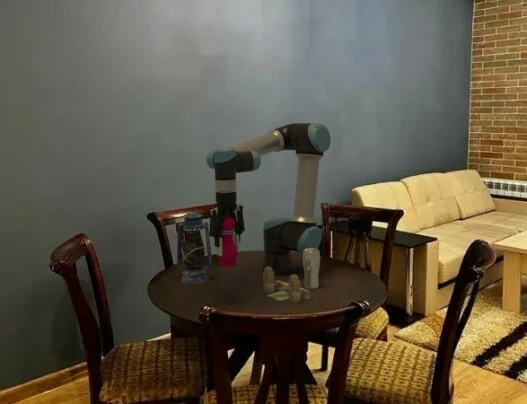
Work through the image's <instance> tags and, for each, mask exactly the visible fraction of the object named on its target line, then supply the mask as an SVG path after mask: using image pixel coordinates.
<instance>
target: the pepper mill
mask: <svg viewBox="0 0 527 404" xmlns="http://www.w3.org/2000/svg"><path fill="white" fill-rule="evenodd" d="M234 226H235V220H234V218H232V217H229V216H228V217H226V219H225V220H224V221H223V227H222V231H221V238H222V255H223V256H219V255H217V256H218V258H219V259H220V260H219V267H221V268H225V269H227V268H228V269H230V268H235V267H237V259H236V258H237V257H238V254H239V252H237V248H236V246H235V244H234V242H233V234H235V232H234V229H233V227H234Z"/></svg>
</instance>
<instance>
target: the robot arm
mask: <svg viewBox="0 0 527 404" xmlns="http://www.w3.org/2000/svg"><path fill="white" fill-rule="evenodd" d="M330 146H331V133H330V131H329V130H328V128H327V126H325V124H322V123H317V122H305V123H304V122H298V123H297V122H294V123H293V122H292V123H289V124H286V125H282V126H279V127H277V128H274V129H271V130H269V131H268V132H267V133H266V134H264V135H262V136H261V135H260V136H258V137H256V138H253V139H252V138H251V139H250V140H247V141H244V142H241V143H238V144H235V145H233V146H229V147H218V148H217V147H216V149H214V150H210V151H209V152H208V154H207V155H206V164H207V166H208V167H209V168H210V169H212V170H214V186H215V188H214V190H215V191H216V192H215V203H216V206H215V207H214V208H213V209H212V208H210V209H208V210H209V211H208V212H209V237H211V238H213V239H214V241H213V243H214V245H213V246H214V247H215V253H216V254H215V255H216V256H218V255H219V256H223V255H222V237H221V236H222V234H221V231H222V227H223V221H224V220H225V219H226V217H228V216H229V217H232V218H234V220H235V226H234V227H233V229H234V233H233V242H234V244H235V246H236V248H237V252H238V253H240V243H241V235H242V234H243V232H245V231H246V228H245V221H244V214H243V211H244V205H241V204H237V201H238V200H237V199H238V198H237V197H238V196H237V191H236V190H237V174H241V173H249V172H251V173H252V172H255V171H257V170H258V169H259V168H260V167H261V163H262V161H261V156H265V155H267V154H270V153H273V152H275V153H280V152H282V151H295V156H296V158H298V161H297V162H298V164H297V174H296V185H295V192H294V193H295V196H294V207H293V215H292V217H290V218H289V217H278V218H272V219H267V220H265V221H264V223H263V229H262V231H263V255H262V261H261V264H260V272H261V273H262V274H263V272H265V271H264V270H265V268H266V267H268V266H269V267H271V268H272V269H273V272H274V276H283V275H289V274H292V273H294V272H295V270H296V269H295V263H294V260H293V257H292V254H291V253H292V251H293V252H296V253H299V254H303V249H306V248H317V249H319V246H320V244H321V242H322V232H321V229H320V227H318V226H317V225H318V222H317V220H316V219H315V209H316V199H317V198H316V197H317V188H318V187H317V186H318V178H319V169H320V168H319V167H320V161H321V159H323V158H324V153H326V152H327V151H328V150H329V148H330Z"/></svg>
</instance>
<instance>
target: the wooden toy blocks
mask: <svg viewBox="0 0 527 404" xmlns="http://www.w3.org/2000/svg"><path fill="white" fill-rule="evenodd" d="M264 271H265V272H263V273H262V275H263V277H262V279H263V281H262V283H263V286H262V287H263V291H262V292H263V293H265V294H267V295H266V297H267V298H269V299H272V300H275V301H278V302H283V301H287V300H288V302H290V303H293V304H297V303H299V302H301V299H304V300H308V299H310V298H311V290H309V289H308V288H305V287H304V288H303V287H301V280H300V279H299V276H298V275H297V274H291V275H290V277H289V279H288V282H285V281H282V280H275V275H274V272H273V269H272V268H271V267H269V266H268V267H266V268H265V270H264ZM275 290H277V292H275Z"/></svg>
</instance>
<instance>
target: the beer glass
mask: <svg viewBox="0 0 527 404" xmlns="http://www.w3.org/2000/svg"><path fill="white" fill-rule="evenodd" d="M320 254H321V253H320V249H319V248H306V249H303V253H302V260H301V261H302V268H303V269H302V270H303V273H304V274H303V275H304V282H303V287H304V289H308V290H309V289H313V290H314V289H318V288H319V287H320V284H319V273H320V266H321V255H320Z"/></svg>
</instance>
